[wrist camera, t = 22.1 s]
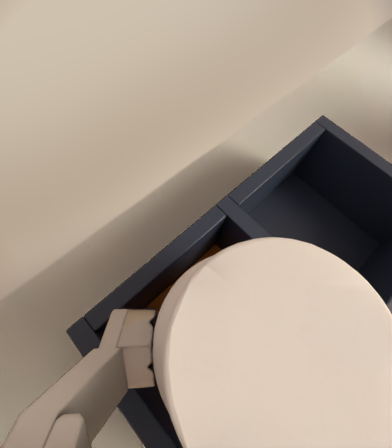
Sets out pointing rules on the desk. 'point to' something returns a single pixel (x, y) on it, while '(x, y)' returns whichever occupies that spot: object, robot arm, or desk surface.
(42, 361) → the desk surface
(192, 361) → the pill bottle
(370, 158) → the rack
